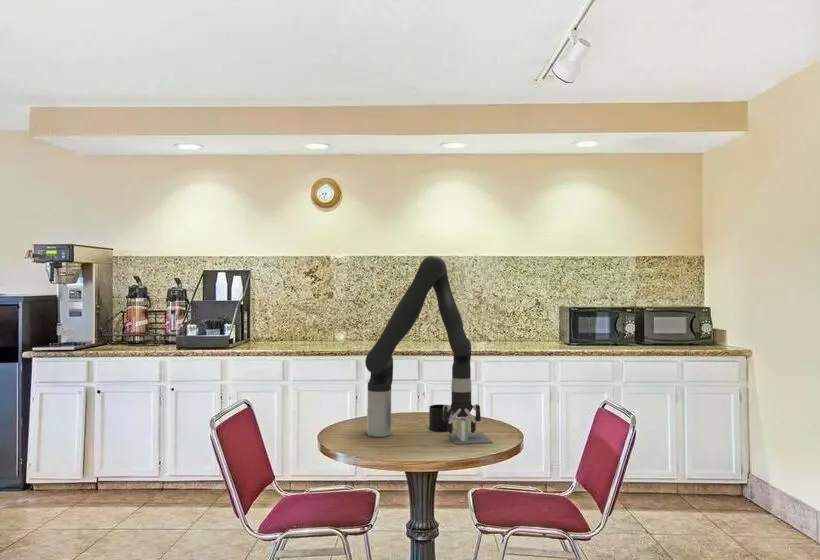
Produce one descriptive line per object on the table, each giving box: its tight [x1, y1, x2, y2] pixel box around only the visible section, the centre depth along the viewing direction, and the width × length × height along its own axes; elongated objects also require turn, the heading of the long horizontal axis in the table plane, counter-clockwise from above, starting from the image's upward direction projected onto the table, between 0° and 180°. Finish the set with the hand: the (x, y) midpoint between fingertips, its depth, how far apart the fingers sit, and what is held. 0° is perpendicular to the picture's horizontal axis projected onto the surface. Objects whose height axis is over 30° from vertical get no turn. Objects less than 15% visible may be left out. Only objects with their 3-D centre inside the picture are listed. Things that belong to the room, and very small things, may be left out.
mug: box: [428, 403, 454, 433], centre depth 225 cm, size 9×12×9 cm
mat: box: [446, 432, 494, 446], centre depth 208 cm, size 14×14×1 cm
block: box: [455, 417, 469, 441], centre depth 208 cm, size 2×9×7 cm, turn 8°
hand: (461, 432), depth 208 cm, fingers open, 8 cm apart
